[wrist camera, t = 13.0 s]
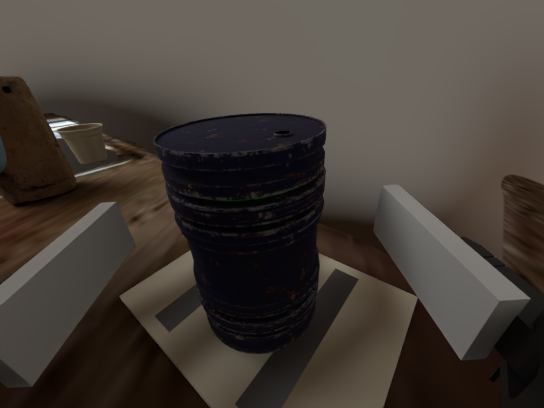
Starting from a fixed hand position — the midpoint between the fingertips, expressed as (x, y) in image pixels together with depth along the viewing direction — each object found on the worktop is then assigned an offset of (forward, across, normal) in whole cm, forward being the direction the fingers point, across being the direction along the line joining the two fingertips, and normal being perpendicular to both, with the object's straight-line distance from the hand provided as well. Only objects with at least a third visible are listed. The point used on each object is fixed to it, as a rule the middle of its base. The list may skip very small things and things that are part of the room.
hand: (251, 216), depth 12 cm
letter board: (+4, 0, -12) cm, 13 cm away
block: (+31, -42, -12) cm, 53 cm away
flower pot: (+50, -45, -12) cm, 69 cm away
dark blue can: (+4, 0, -12) cm, 12 cm away
